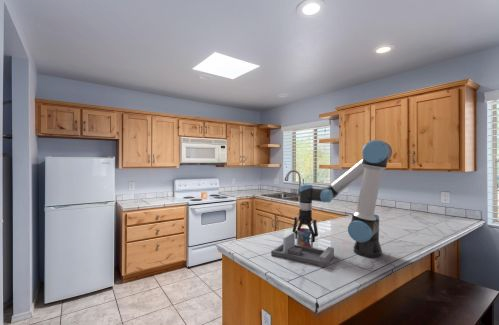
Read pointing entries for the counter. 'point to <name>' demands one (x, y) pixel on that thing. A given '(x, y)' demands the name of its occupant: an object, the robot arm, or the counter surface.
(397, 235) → the counter surface
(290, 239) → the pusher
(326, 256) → the grey tray
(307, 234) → the mug
